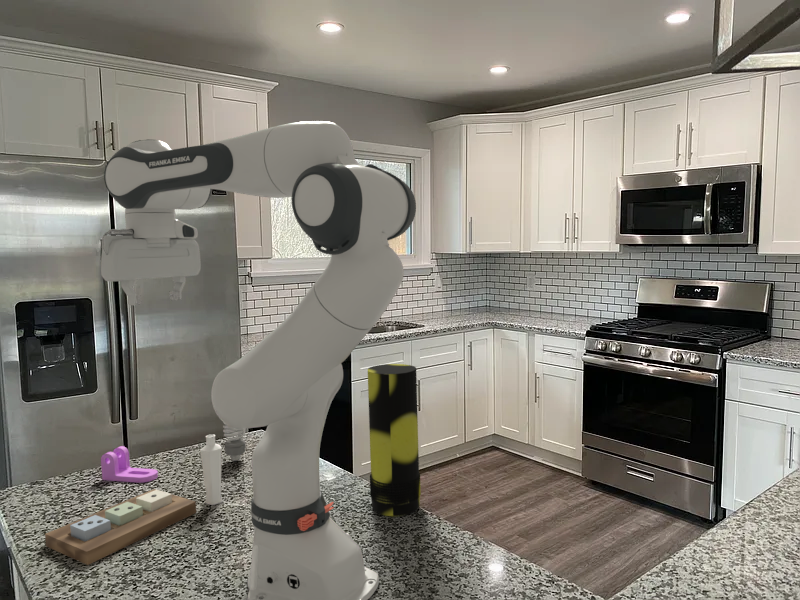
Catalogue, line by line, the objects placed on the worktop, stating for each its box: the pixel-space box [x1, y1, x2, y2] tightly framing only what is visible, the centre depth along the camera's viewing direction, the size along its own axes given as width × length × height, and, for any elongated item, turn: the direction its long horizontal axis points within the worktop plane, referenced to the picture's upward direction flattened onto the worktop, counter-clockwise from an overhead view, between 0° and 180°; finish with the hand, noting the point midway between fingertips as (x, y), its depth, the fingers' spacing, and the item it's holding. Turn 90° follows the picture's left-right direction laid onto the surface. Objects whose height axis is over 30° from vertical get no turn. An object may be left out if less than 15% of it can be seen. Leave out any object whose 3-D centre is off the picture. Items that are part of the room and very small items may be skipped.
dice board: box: [44, 488, 197, 566], centre depth 121 cm, size 14×24×2 cm, turn 148°
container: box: [367, 363, 422, 517], centre depth 127 cm, size 11×11×30 cm
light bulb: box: [222, 421, 246, 462], centre depth 158 cm, size 6×6×12 cm
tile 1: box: [136, 489, 173, 512], centre depth 127 cm, size 5×5×3 cm
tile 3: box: [70, 515, 111, 542], centre depth 115 cm, size 5×5×3 cm
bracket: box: [100, 445, 159, 483], centre depth 149 cm, size 13×6×7 cm, turn 77°
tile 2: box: [105, 502, 143, 526], centre depth 121 cm, size 5×5×3 cm
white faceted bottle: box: [199, 434, 224, 506], centre depth 133 cm, size 5×4×15 cm
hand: (156, 302), depth 114 cm, fingers open, 8 cm apart
